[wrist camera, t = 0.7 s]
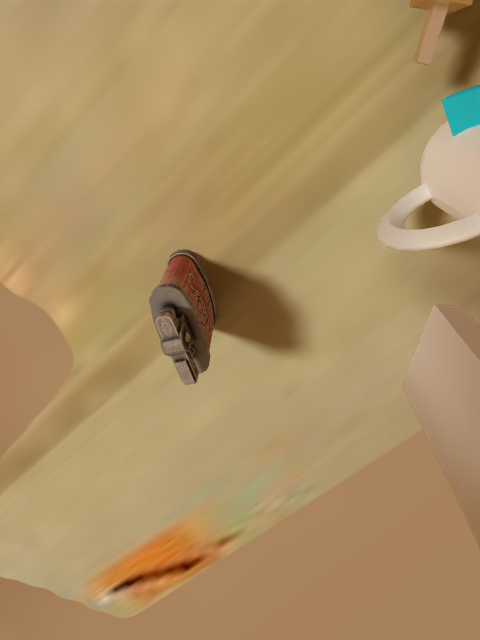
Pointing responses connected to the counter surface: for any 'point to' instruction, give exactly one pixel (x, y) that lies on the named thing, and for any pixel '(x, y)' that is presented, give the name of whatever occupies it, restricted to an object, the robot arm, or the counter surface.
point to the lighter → (185, 314)
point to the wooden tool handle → (433, 25)
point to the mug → (443, 181)
